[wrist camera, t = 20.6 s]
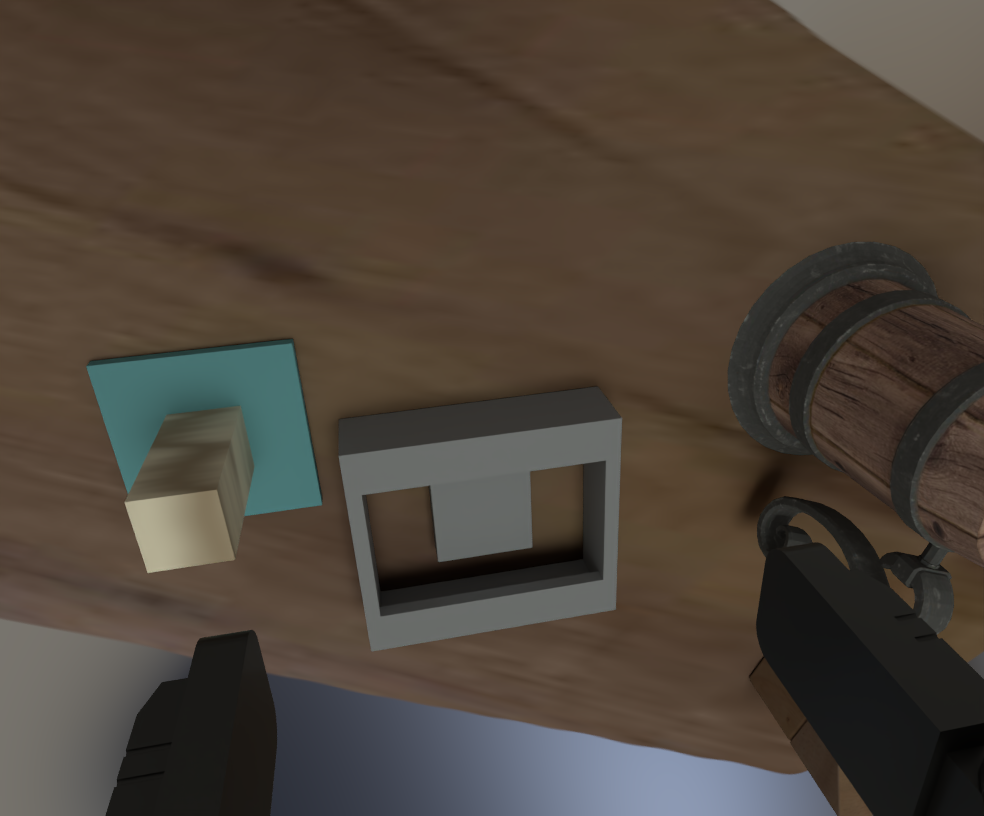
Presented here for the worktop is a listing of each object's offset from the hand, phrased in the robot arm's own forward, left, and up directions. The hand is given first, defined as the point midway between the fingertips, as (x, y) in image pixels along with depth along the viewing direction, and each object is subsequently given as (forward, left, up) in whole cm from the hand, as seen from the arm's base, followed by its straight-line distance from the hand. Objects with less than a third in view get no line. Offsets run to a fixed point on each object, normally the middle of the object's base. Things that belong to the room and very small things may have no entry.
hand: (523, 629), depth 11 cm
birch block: (-13, -14, -35) cm, 40 cm away
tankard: (+30, -17, -36) cm, 50 cm away
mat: (-13, -14, -36) cm, 41 cm away
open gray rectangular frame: (+4, -22, -36) cm, 42 cm away
